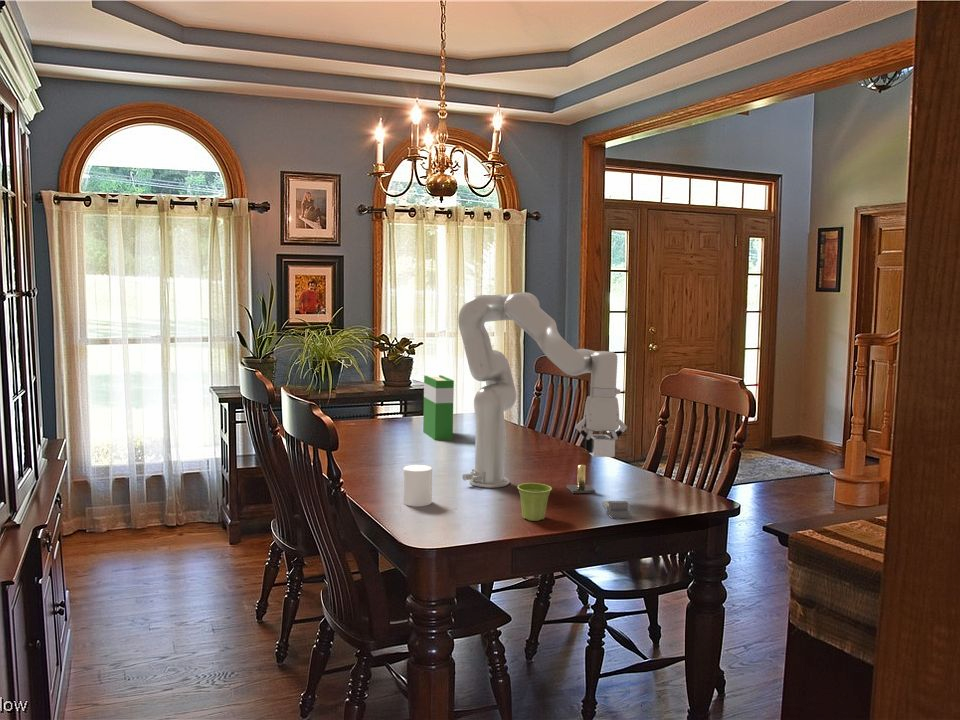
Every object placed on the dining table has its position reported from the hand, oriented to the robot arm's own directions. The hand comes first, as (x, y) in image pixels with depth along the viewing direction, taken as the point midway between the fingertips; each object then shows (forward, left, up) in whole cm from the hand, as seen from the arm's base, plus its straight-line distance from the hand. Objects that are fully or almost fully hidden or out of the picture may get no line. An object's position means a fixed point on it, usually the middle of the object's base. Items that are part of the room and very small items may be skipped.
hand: (599, 451), depth 245 cm
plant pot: (-30, -4, -15) cm, 34 cm away
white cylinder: (-47, +28, -15) cm, 57 cm away
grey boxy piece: (-9, -16, -14) cm, 23 cm away
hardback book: (+16, +104, -15) cm, 106 cm away
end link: (0, 0, -1) cm, 1 cm away
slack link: (-5, -10, -14) cm, 18 cm away
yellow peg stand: (+2, +9, -14) cm, 17 cm away
